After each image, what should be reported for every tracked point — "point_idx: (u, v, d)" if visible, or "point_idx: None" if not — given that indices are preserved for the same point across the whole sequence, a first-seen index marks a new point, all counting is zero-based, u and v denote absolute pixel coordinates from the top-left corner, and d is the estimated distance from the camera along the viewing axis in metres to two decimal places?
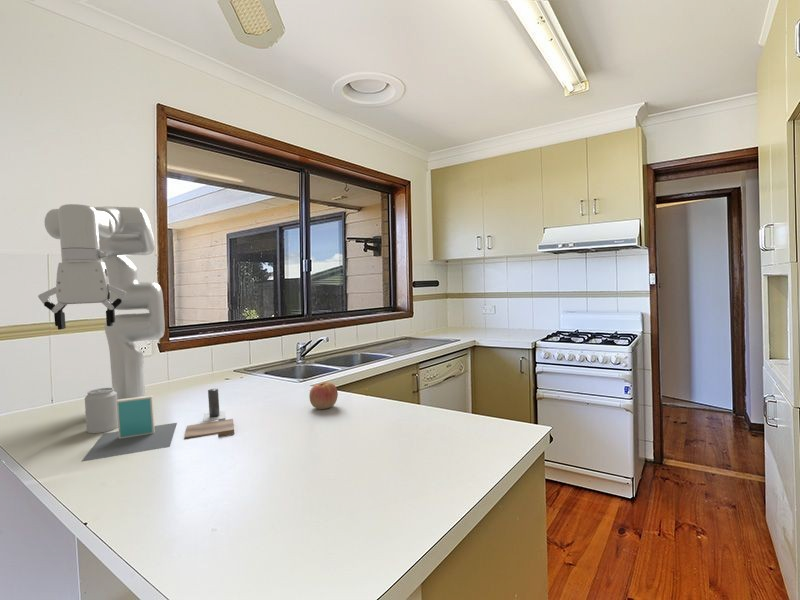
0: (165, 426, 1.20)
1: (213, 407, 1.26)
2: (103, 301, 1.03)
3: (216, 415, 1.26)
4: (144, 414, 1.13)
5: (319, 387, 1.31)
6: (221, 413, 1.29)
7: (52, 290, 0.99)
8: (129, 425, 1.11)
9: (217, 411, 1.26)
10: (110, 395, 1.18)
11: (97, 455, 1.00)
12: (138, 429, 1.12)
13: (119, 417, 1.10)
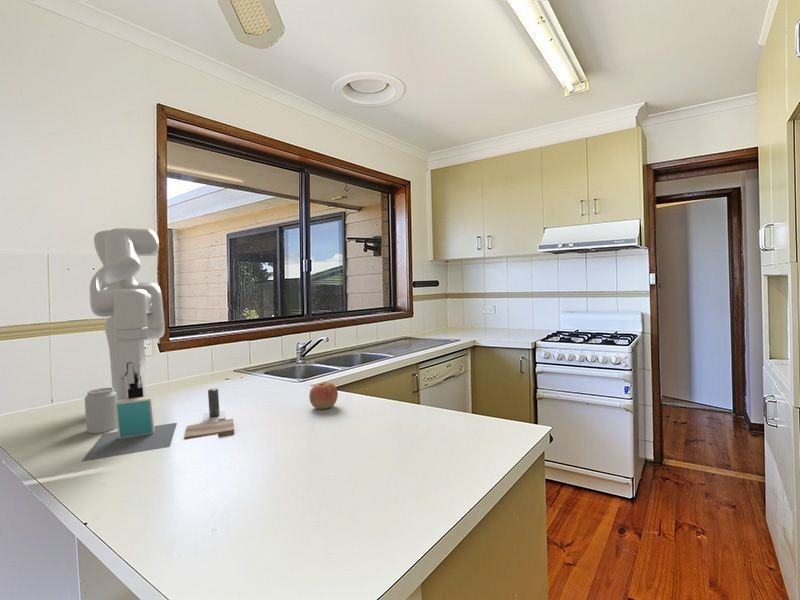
0: (165, 426, 1.20)
1: (213, 407, 1.26)
2: (141, 376, 1.15)
3: (216, 415, 1.26)
4: (144, 416, 1.12)
5: (319, 387, 1.31)
6: (221, 413, 1.29)
7: (133, 371, 1.10)
8: (129, 426, 1.11)
9: (217, 411, 1.26)
10: (110, 395, 1.18)
11: (97, 455, 1.00)
12: (137, 429, 1.12)
13: (118, 418, 1.10)
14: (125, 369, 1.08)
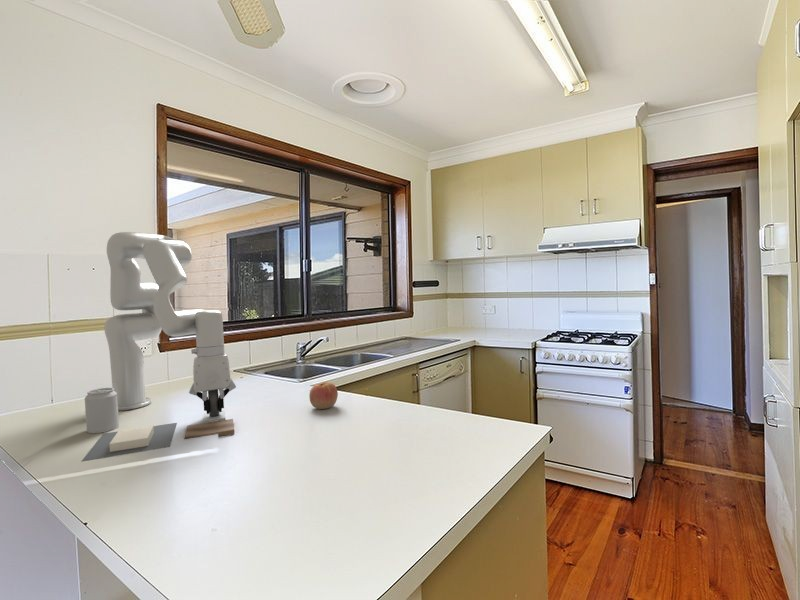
0: (165, 426, 1.20)
1: (213, 407, 1.26)
2: None
3: (216, 415, 1.26)
4: None
5: (319, 387, 1.31)
6: (221, 413, 1.29)
7: None
8: None
9: (217, 411, 1.26)
10: (110, 395, 1.18)
11: (97, 455, 1.00)
12: None
13: None
14: (230, 377, 1.28)
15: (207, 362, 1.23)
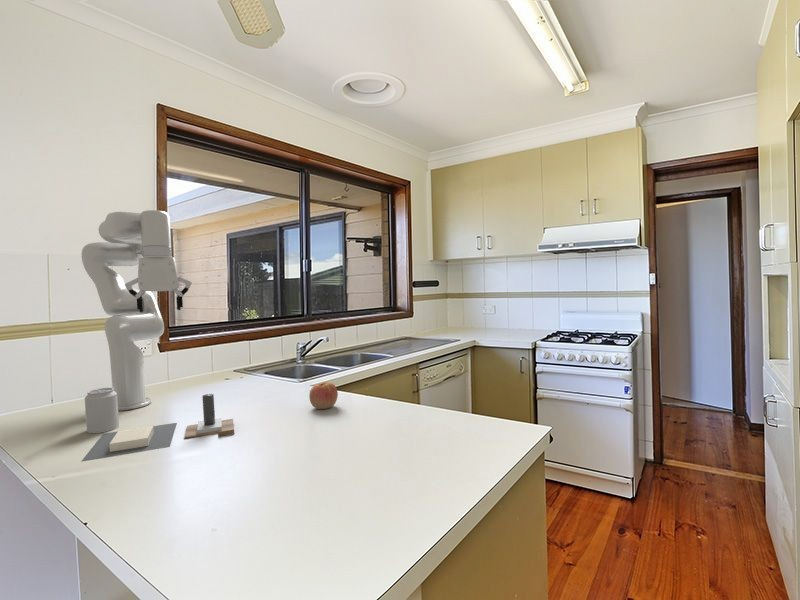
0: (165, 426, 1.20)
1: (208, 415, 1.14)
2: None
3: (211, 423, 1.15)
4: None
5: (319, 387, 1.31)
6: (217, 421, 1.18)
7: None
8: None
9: (212, 419, 1.15)
10: (110, 395, 1.18)
11: (97, 455, 1.00)
12: None
13: None
14: (177, 280, 1.26)
15: (152, 262, 1.22)
